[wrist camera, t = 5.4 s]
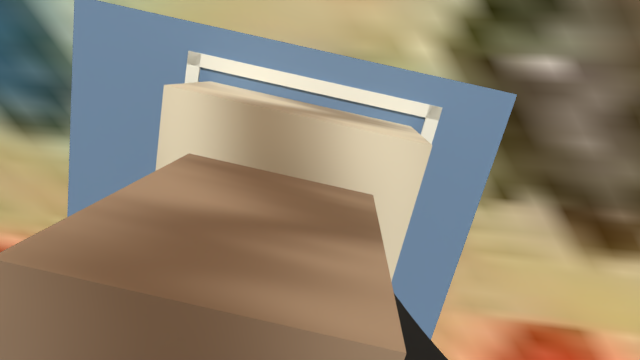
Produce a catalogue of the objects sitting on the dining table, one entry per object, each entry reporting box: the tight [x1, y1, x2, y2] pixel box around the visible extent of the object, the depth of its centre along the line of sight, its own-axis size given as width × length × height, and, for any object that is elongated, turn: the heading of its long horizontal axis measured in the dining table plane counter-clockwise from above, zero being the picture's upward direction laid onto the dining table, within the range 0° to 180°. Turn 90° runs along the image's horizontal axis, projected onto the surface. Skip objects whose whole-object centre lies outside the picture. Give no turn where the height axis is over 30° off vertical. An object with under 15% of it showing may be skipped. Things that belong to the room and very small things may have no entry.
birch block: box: [156, 81, 433, 282], centre depth 14 cm, size 8×8×4 cm
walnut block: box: [0, 153, 406, 360], centre depth 8 cm, size 5×5×6 cm
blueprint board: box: [68, 0, 517, 340], centre depth 17 cm, size 17×16×1 cm
